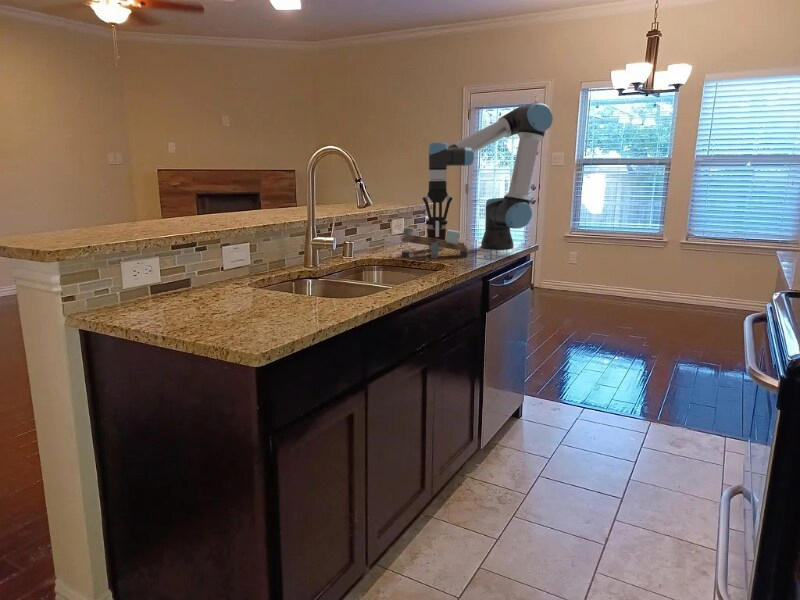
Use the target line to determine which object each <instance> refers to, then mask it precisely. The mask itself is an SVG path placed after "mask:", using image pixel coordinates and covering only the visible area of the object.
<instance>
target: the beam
mask: <svg viewBox="0 0 800 600" xmlns="http://www.w3.org/2000/svg"><path fill="white" fill-rule="evenodd" d="M414 229H415V227H410V226H404V227H403V232H402V237H401V242H405V243H412V244H417V245H425V246H428V247H429V246H431V242H438V247H442V248H444V249H450V250H456V251H460V250H461V251H467V252H468V247H467V245H465V242H459V241H458V244H452V243H446V239H445V240H439V239H433V238H428V237H425V236H418V235H413V234H414Z"/></svg>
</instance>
